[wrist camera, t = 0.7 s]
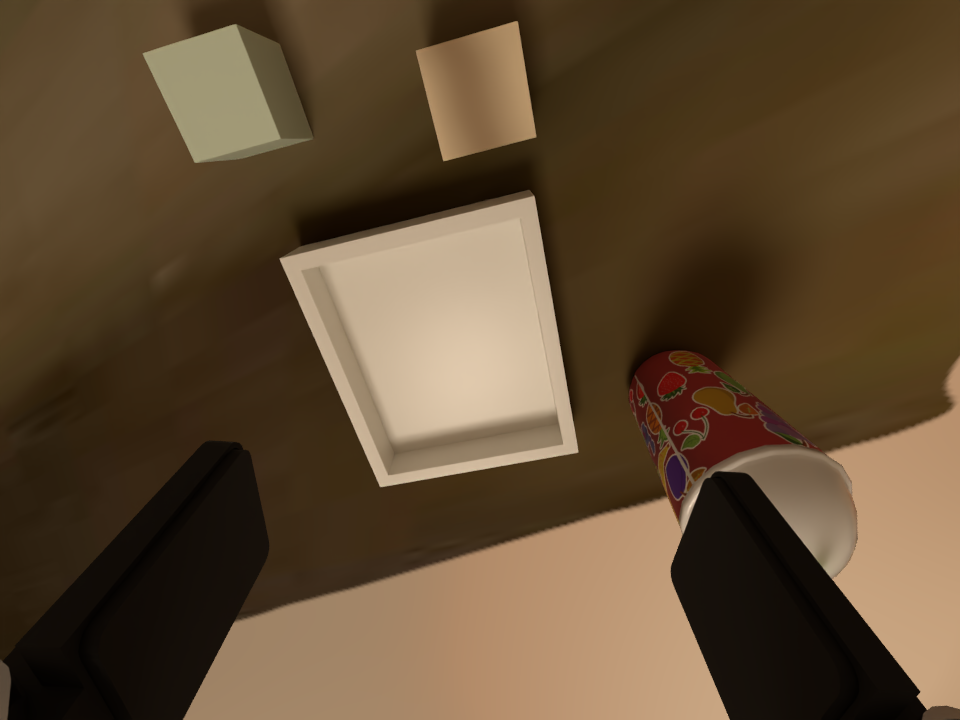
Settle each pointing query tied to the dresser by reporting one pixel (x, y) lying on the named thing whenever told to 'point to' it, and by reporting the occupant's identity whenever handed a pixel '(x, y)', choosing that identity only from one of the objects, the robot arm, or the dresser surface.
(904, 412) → the dresser surface
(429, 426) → the tray
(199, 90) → the sage block
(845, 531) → the smoothie
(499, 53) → the maple block
